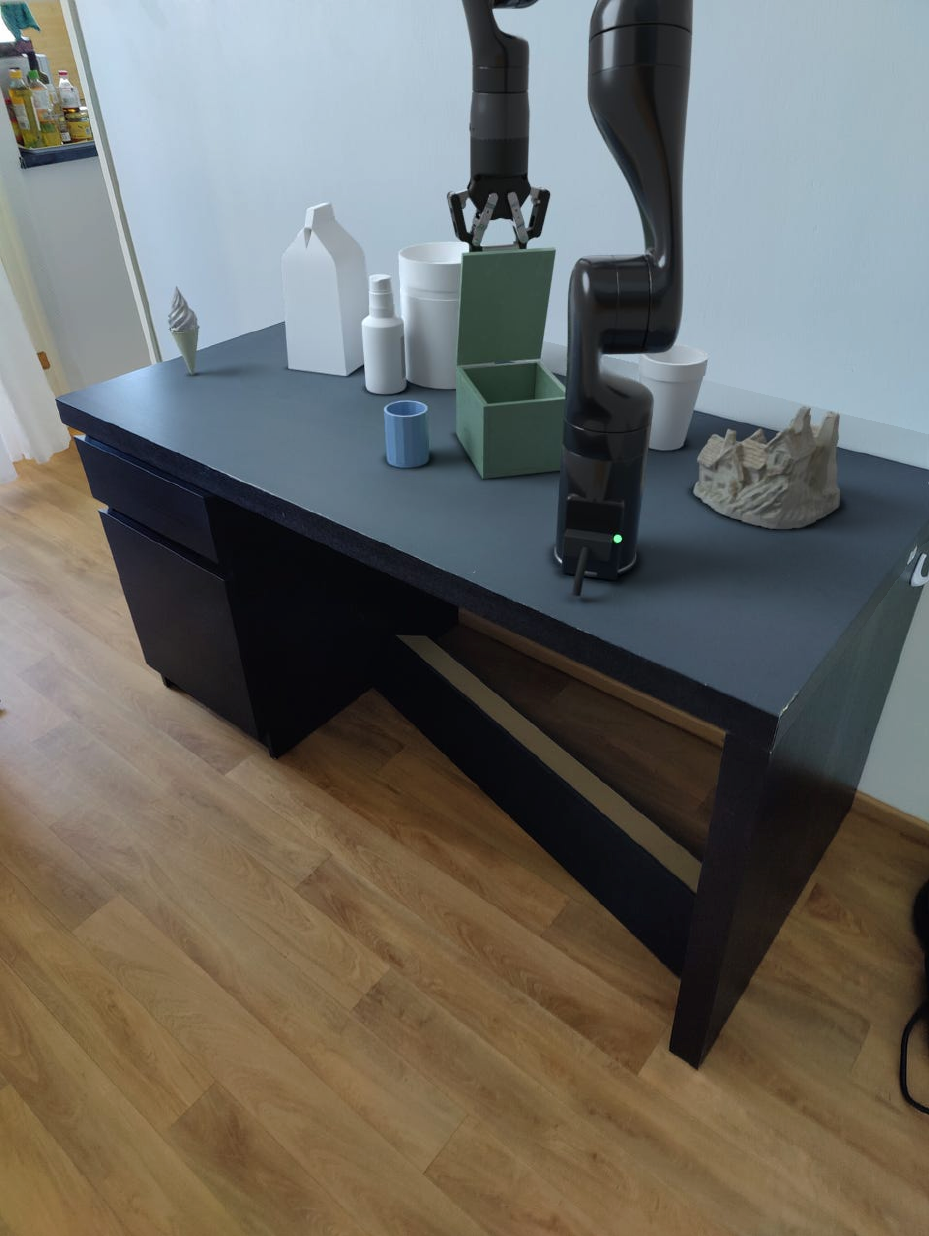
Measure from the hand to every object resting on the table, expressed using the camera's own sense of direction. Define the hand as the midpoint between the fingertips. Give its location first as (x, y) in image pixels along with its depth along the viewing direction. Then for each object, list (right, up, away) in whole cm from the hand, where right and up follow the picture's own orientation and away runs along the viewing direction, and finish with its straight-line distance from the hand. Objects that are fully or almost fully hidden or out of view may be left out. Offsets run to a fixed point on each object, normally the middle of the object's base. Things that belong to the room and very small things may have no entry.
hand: (497, 271), depth 122 cm
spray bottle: (-18, -9, +27) cm, 34 cm away
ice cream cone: (-52, -5, +33) cm, 62 cm away
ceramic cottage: (+35, -32, -7) cm, 48 cm away
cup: (-13, -25, +4) cm, 28 cm away
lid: (+1, -6, -1) cm, 6 cm away
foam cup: (+24, -22, +9) cm, 34 cm away
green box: (+2, -24, +6) cm, 24 cm away
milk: (-28, -1, +39) cm, 48 cm away
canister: (-7, -5, +33) cm, 35 cm away
